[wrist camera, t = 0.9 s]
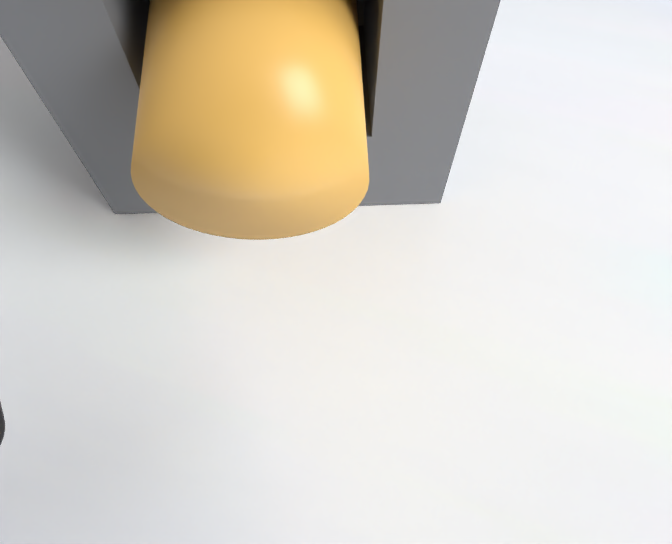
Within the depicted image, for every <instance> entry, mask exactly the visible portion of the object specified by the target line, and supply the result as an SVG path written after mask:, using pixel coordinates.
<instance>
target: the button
mask: <svg viewBox="0 0 672 544" xmlns="http://www.w3.org/2000/svg"><path fill="white" fill-rule="evenodd" d="M131 178H132V182H133V184H134V187H135V189H136V191H137V192H138V194H139V195H140V197H141V198H142V199H143V200H144V201H145V202H146V203H147V204H148V205H149V206H150V207H151V208H152V209H154V210H155V211H156V212H158V213H159V214H161V215H162V216H164V217H165V218H167V219H169V220H171V221H173V222H175V223H177V224H180V225H182V226H185V227H187V228H190V229H193V230H196V231H199V232H203V233H207V234H211V235H216V236H221V237H228V238H236V239H278V238H286V237H293V236H298V235H303V234H306V233H310V232H314V231H317V230H319V229H322V228H325V227H327V226H329V225H332V224H334V223H336V222H338V221H339V220H341V219H343V218H344V217H346V216H347V215H348V214H350V213H351V212H352V211H353V210H354V209H355V208H356V207H357V206H358V205H359V204H360V203H361V201H362V200H363V198H364V197H365V195H366V192H367V190H368V186H369V164H368V151H367V137H366V123H365V109H364V96H363V82H362V68H361V55H360V41H359V27H358V13H357V0H150V4H149V13H148V22H147V30H146V39H145V48H144V56H143V65H142V74H141V83H140V91H139V100H138V109H137V117H136V126H135V135H134V144H133V152H132V161H131Z"/></svg>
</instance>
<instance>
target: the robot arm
mask: <svg viewBox="0 0 672 544" xmlns="http://www.w3.org/2000/svg"><path fill="white" fill-rule="evenodd" d="M4 432H5V420H4V415H3V411H2V407H1V402H0V445H1V442H2V440H3V436H4Z"/></svg>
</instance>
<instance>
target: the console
mask: <svg viewBox="0 0 672 544" xmlns="http://www.w3.org/2000/svg"><path fill="white" fill-rule="evenodd" d="M149 4H150V0H0V36H1V37H2V39H3V40H4V42H5V43H6V45H7V46H8V48H9V50H10V51H11V53H12V54H13V56H14V57H15V59H16V61H17V62H18V64H19V65H20V67H21V68H22V70H23V71H24V73H25V75H26V76H27V78H28V79H29V81H30V82H31V84H32V85H33V87H34V89H35V90H36V92H37V93H38V95H39V96H40V98H41V99H42V101H43V103H44V104H45V106H46V107H47V109H48V110H49V112H50V113H51V115H52V117H53V118H54V120H55V121H56V123H57V124H58V126H59V127H60V129H61V131H62V132H63V134H64V135H65V137H66V138H67V140H68V141H69V143H70V145H71V146H72V148H73V149H74V151H75V152H76V154H77V156H78V157H79V159H80V160H81V162H82V163H83V165H84V166H85V168H86V170H87V171H88V173H89V174H90V176H91V177H92V179H93V180H94V182H95V184H96V185H97V187H98V188H99V190H100V191H101V193H102V194H103V196H104V198H105V199H106V201H107V202H108V204H109V205H110V207H111V208H112V210H113V212H114V213H115V214H128V213H158V212H156V211H155V210H154V209H152V208H151V207H150V206H149V205H148V204H147V203H146V202H145V201H144V200H143V199H142V198H141V197H140V195H139V194H138V192H137V191H136V189H135V187H134V184H133V182H132V178H131V161H132V152H133V144H134V135H135V126H136V117H137V109H138V100H139V91H140V83H141V74H142V65H143V56H144V48H145V39H146V30H147V22H148V13H149ZM499 4H500V0H357V13H358V27H359V41H360V55H361V68H362V82H363V96H364V109H365V123H366V137H367V151H368V164H369V186H368V190H367V192H366V195H365V197H364V198H363V200H362V201H361V203H360V204H359V205H358V206H365V205H394V204H424V203H441V199H442V196H443V192H444V189H445V186H446V182H447V179H448V176H449V172H450V169H451V165H452V162H453V159H454V155H455V152H456V149H457V145H458V142H459V138H460V135H461V132H462V128H463V125H464V122H465V118H466V115H467V112H468V108H469V105H470V101H471V98H472V95H473V91H474V88H475V85H476V81H477V78H478V74H479V71H480V68H481V64H482V61H483V58H484V54H485V51H486V47H487V44H488V41H489V37H490V34H491V31H492V27H493V24H494V20H495V17H496V14H497V10H498V7H499Z"/></svg>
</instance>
